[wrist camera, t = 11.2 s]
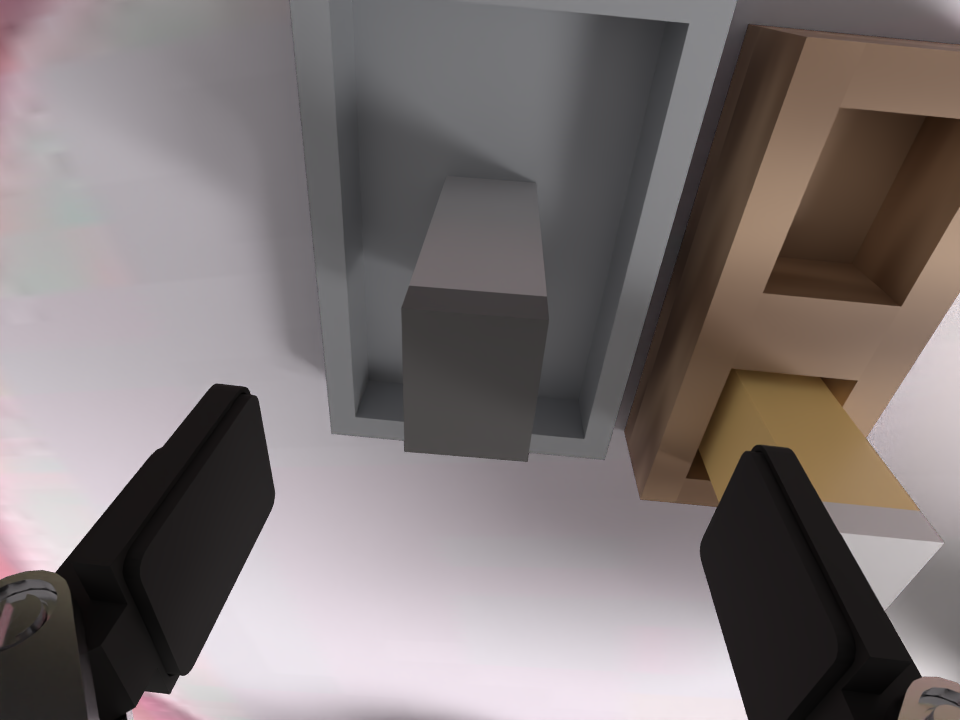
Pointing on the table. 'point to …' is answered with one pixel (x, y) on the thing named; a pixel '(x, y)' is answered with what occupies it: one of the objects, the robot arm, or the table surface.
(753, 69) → the block
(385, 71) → the parts tray
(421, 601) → the table surface
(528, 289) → the block
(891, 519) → the block
